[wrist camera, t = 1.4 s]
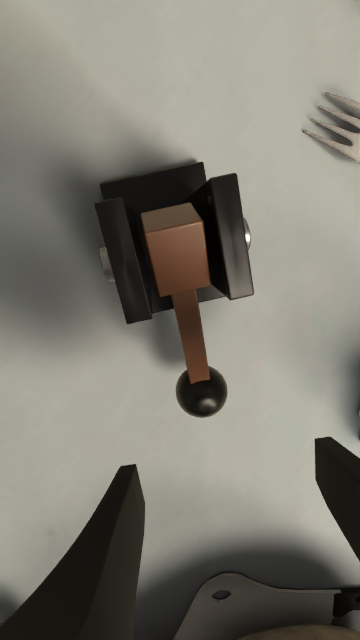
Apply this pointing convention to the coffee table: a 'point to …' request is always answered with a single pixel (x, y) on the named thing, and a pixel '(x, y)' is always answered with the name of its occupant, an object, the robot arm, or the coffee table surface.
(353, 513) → the robot arm
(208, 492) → the coffee table surface
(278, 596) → the cleaver
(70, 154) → the coffee table surface
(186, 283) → the lever
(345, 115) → the fork
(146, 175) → the bracket
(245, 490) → the coffee table surface
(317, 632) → the bowl
